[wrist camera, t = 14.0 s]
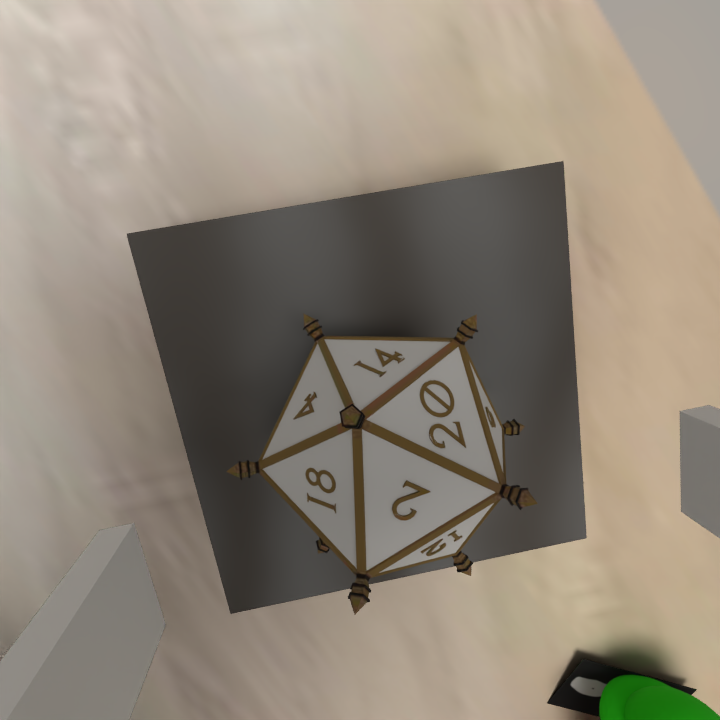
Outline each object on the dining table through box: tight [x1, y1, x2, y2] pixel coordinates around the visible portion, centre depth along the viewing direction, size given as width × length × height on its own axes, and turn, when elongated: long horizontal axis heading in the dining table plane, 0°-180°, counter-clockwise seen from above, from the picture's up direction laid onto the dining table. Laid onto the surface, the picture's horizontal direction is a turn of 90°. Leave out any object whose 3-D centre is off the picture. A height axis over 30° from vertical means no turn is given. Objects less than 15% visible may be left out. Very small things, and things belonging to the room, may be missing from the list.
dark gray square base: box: [127, 161, 586, 614], centre depth 22 cm, size 16×16×5 cm
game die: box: [226, 313, 538, 614], centre depth 15 cm, size 9×8×10 cm
